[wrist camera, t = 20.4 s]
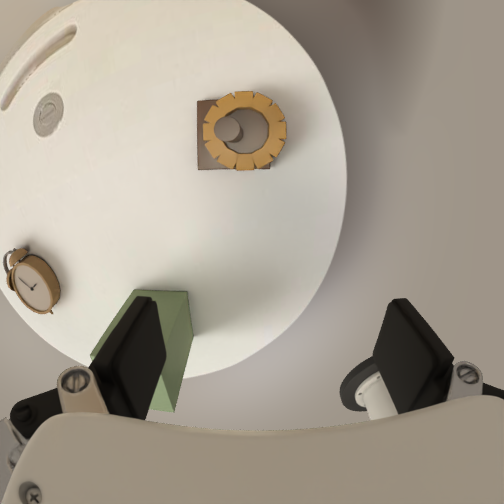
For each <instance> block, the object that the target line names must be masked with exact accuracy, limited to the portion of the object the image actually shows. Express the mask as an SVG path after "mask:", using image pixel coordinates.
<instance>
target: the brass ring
mask: <svg viewBox="0 0 504 504" xmlns="http://www.w3.org/2000/svg"><path fill="white" fill-rule="evenodd" d="M272 101H273V100H271V99H269V98H267V97H265V96H263V95H262V94H260V93H258V92H257V93H256V94H255V96H254V98H253V91H241V92H235V98H234V97H233V95H232V94H231V93H230V94H228V95H226V96H225V97H223V98H221V99H219V100H218V101H216V104H217V105H218V107H216V106H214V105H212V107H211V108H210V110H209V112H208V114H207V115H206V117H205V119H204V120H205V121H207V122H209V123H204V124H203V140H204V141H209V142H207V143H206V144H205V146H206V147H207V149H208V151H209V152H210V154H211V155H212V157H213V158H214V159H215V158H217V157H219V158H218V160H217V162H219V163H221V164H222V165H224V166H226V167H228V168H230V169H233V168H234V167H235V165H236V170H237V171H238V170H254V163H255V165H256V167H257V168H258V169H259V168H261V167H263V166H264V165H266V164H268V163H270V162H272V161H273V158H272V157H271V155H272V156H274V157H277V156H278V154H279V152H280V151H281V149H282V147H283V146H284V144H285V142H283V141H282V140H280V139H286V122H281V120H283V119H284V118H285V117H284V115H283V114H282V112H281V111H280V109H279V107H278V106H277V104H276V103H275V104H273V105H271V103H272ZM270 105H271V106H270ZM241 109H251V110H253V111H255V112H257V113H259V114H261V115H262V116H263V118H264V120H265V121H266V123H267V124H268V138H267V139H266V141H265V143H264V145H263V146H262V147H261V148H259V149H258V150H256V151H254V152H253V153H238V152H236V151H234V150H232V149H230V148H228V146H227V145H226V143H225V142H224V141H221V140H219V139H218V138H217V137H216V136H215V133H214V125H215V123H216V122H217V120H218V119H220V118H222V117H225V116H228V115H230V114H232V113H233V112H235V111H237V110H241ZM270 154H271V155H270Z"/></svg>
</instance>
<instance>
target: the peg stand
mask: <svg viewBox="0 0 504 504" xmlns="http://www.w3.org/2000/svg"><path fill="white" fill-rule="evenodd" d="M216 101H218V100H204V101H197V155H198V170H211V169H230V168H228V167H226V166H224V165H222V164H221V163H219V162H217V160H218V158H219V157H217V158H215V159H214V158H213V157H212V155H211V154H210V152H209V151H208V149H207V147H206V146H205V144H206V143H207V142H209V141H204V140H203V124H204V123H209V122H207V121H205V120H204V119H205V117H206V115H207V114H208V112H209V110H210V108H211V107H212V105H214V106H216V107H218V105H217V104H216ZM214 133H215V136H216V137H217V138H218V139H219V140H221V141H224V142H225V143H226V145H227V146H228V148H230V149H232V150H234V151H236V152H238V153H253V152H254V151H256V150H258V149H259V148H261V147H262V146H263V145H264V143H265V141H266V139H267V138H268V124H267V123H266V121H265V120H264V118H263V116H262V115H261V114H259V113H257V112H255V111H253V110H251V109H241V110H237V111H235V112H233V113H232V114H230V115H228V116H225V117H222V118H220V119H218V120H217V122H216V123H215V125H214ZM233 169H236V165H235V167H234V168H233ZM254 169H258V168H257V167H256V165H255V163H254ZM259 169H270V163H268V164H266V165H264V166H263V167H261V168H259Z"/></svg>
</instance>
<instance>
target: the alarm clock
mask: <svg viewBox="0 0 504 504" xmlns="http://www.w3.org/2000/svg"><path fill="white" fill-rule="evenodd" d="M27 253H28V252H27V251H26V250H25V249H23V248H20V249H15V248H14V249H13V251H9V252H7V253H6V254H5V255H4V258H3V265H4V269H5V271H6V273H7V285H8V287H9V288H10V289H11V290H13V291H15V292H16V294H17V296H18V297H19V298H20V300H21V301H22V302H23V304H24V305H25V306H26V307H27V308H29V309H30V310H32V311H33V312H36V313H38V314H46V313H48V312H50V313H51V314H53V312H52V310H51V309H52V307H53V306H54V305H55V304H56V303H57V301H58V300H59V296H60V288H59V283H58V281H57V278H56V276H55V274H54V273H53V271H52V270H51V268H50V267H49V266H48V265H47V264H46V263H45V262H44V261H43V260H41V259H40V258H38V257H36V256H32V255H30V256H26V257H24V258H23V259H22V260H21V261H20V259H21V258H22V257H23V256H25V255H26V254H27ZM8 254H12V255H11V257H10V259H9V264H10V266H11V267H12V266H13V268H12V269H11V270H10V271H9V269H8V267H7V255H8ZM17 261H19V263H17V264H16V265H14V264H15V263H16V262H17Z"/></svg>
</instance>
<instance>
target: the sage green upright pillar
mask: <svg viewBox="0 0 504 504" xmlns="http://www.w3.org/2000/svg"><path fill="white" fill-rule="evenodd" d="M137 296H148V297H151V298H152V300H153V301H156V303H157V307H158V313H159V318H160V324H161V329H162V334H163V338H164V343H165V348H166V353H167V357H166V361H165V364H164V367H163V370H162V373H161V375H160V378H159V381H158V384H157V387H156V389H155V392H154V395H153V398H152V401H151V404H150V407H149V409H153V410H160V411H167V412H174V411H175V407H176V403H177V399H178V395H179V391H180V386H181V383H182V379H183V375H184V371H185V367H186V363H187V359H188V356H189V352H190V348H191V344H192V340H193V331H192V324H191V317H190V310H189V303H188V295H187V292H182V291H154V290H133V292H132V293H131V295H130V296H129V297H128V299H127V300H126V302H125V303H124V305H123V306H122V307H121V309H120V310H119V312H118V313H117V315H116V316H115V318H114V319H113V321H112V322H111V323H110V325H109V326H108V328H107V329H106V331H105V333H104V334H103V336H102V337H101V339H100V340H99V342H98V343H97V345H96V346H95V348H94V350H93V351H92V353H91V354H90V357H91V359H92V361H93V360H94V358H95V356H96V355H97V353H98V352H99V350H100V349H101V347H102V345H103V344H104V342H105V341H106V339H107V338H108V336H109V335H110V333H111V332H112V330H113V329H114V328H115V327H116V325H117V324H118V322H119V321H120V319H121V318H122V316H123V315H124V313H125V312H126V310H127V309H128V308H129V306H130V305H131V303H132V302H133V300H134V299H135V298H136V297H137Z"/></svg>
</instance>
